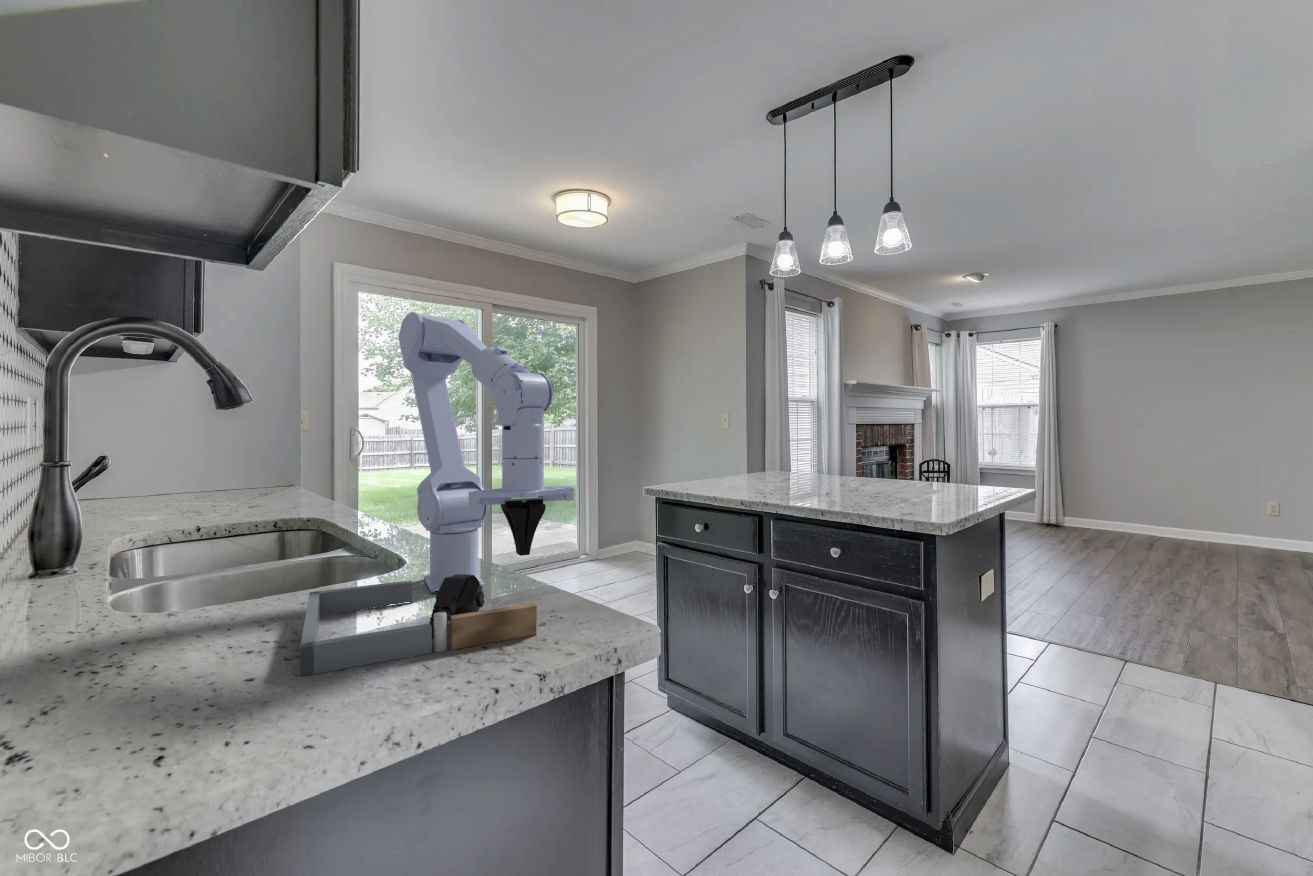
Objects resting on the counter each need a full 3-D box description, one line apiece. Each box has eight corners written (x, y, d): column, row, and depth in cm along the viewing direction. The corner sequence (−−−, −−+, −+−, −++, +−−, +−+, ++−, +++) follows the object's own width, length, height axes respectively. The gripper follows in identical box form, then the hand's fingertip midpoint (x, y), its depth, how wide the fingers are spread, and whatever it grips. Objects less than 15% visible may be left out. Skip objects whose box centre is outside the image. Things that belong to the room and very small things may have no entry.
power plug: (400, 643, 65) (440, 562, 75) (420, 678, 70) (455, 598, 80) (447, 645, 65) (482, 563, 74) (464, 681, 69) (494, 599, 79)
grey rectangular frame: (309, 614, 77) (309, 583, 77) (423, 599, 84) (423, 570, 84) (300, 677, 58) (299, 636, 58) (447, 650, 65) (447, 614, 65)
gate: (452, 649, 66) (452, 618, 66) (450, 646, 67) (450, 615, 67) (536, 634, 71) (536, 605, 70) (533, 631, 72) (533, 603, 71)
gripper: (476, 461, 73) (476, 566, 73) (581, 458, 80) (581, 554, 80) (465, 457, 79) (465, 554, 79) (564, 455, 86) (564, 544, 86)
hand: (522, 553), depth 80 cm, fingers closed
